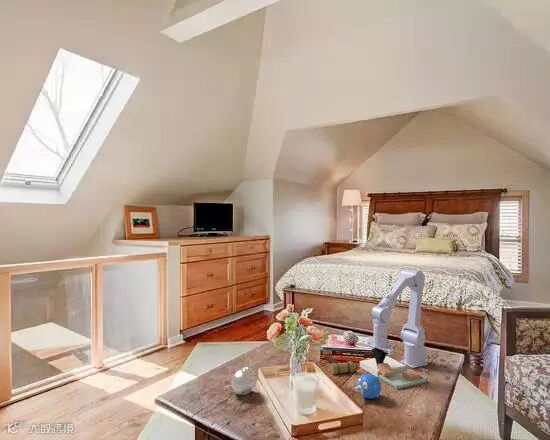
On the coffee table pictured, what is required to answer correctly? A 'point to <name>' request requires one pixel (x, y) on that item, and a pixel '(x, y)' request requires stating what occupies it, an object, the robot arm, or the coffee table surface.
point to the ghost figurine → (243, 381)
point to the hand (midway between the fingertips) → (379, 365)
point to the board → (372, 366)
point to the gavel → (339, 366)
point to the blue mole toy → (368, 386)
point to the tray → (401, 380)
